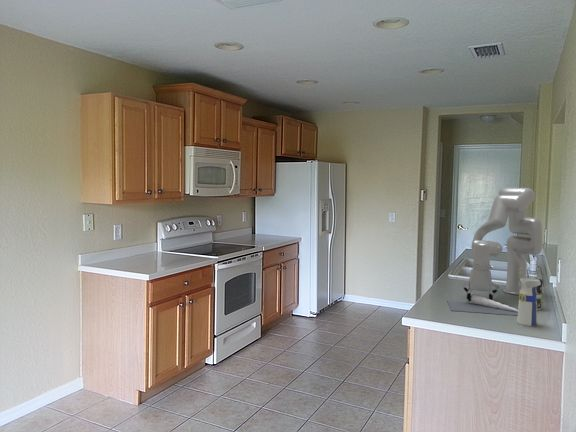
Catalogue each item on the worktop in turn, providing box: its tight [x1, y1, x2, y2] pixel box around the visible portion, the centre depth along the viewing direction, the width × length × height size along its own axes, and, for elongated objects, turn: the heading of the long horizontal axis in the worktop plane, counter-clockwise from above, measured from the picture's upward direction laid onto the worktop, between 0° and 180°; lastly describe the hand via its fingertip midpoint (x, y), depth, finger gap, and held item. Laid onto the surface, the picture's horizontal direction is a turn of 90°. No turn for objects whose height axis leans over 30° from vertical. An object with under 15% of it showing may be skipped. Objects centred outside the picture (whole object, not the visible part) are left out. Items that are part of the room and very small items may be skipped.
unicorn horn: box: [470, 293, 518, 312], centre depth 221 cm, size 5×24×5 cm, turn 40°
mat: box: [447, 300, 518, 317], centre depth 222 cm, size 30×18×1 cm, turn 77°
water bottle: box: [516, 266, 541, 327], centre depth 198 cm, size 8×9×25 cm
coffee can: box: [517, 276, 544, 311], centre depth 224 cm, size 10×10×14 cm
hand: (479, 301), depth 228 cm, fingers open, 9 cm apart
